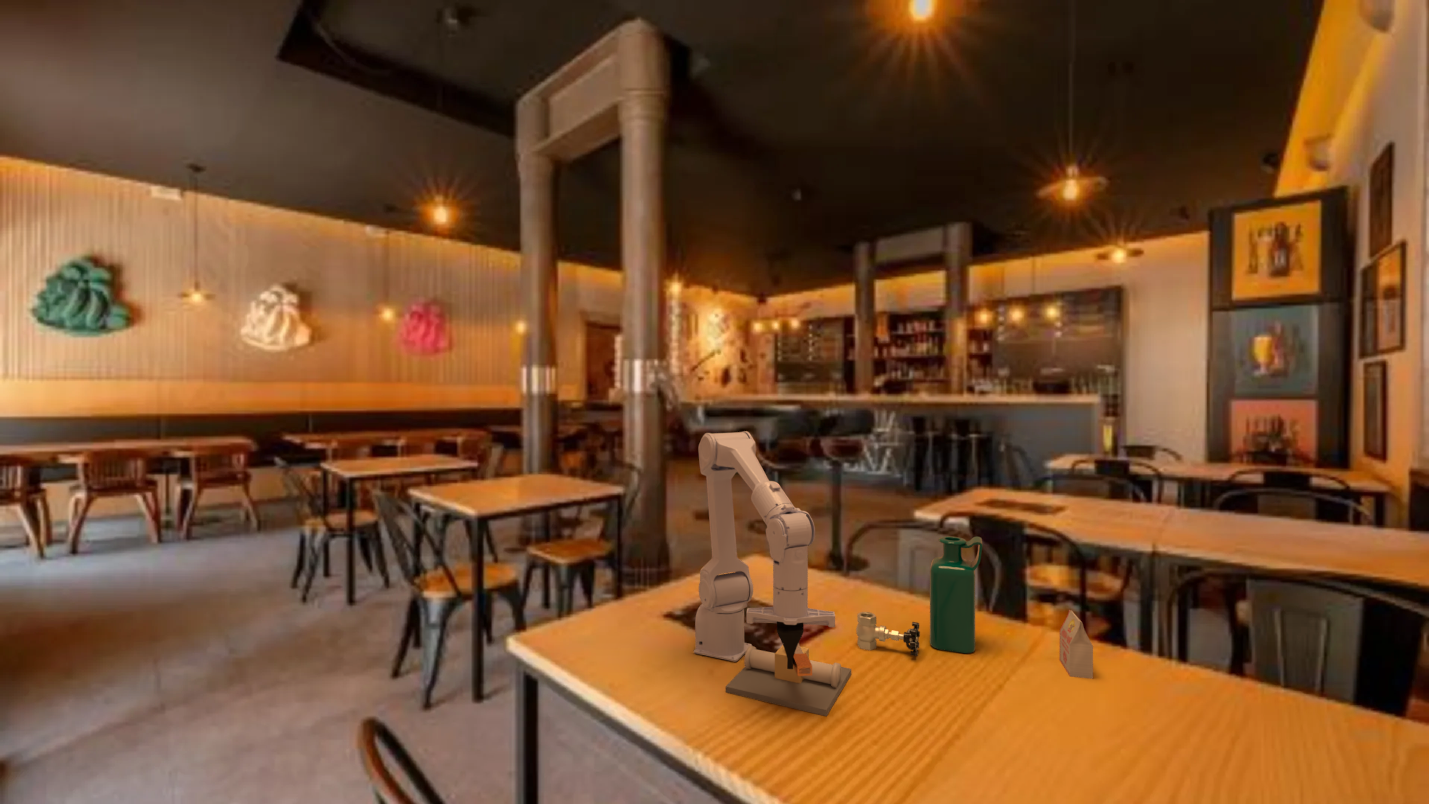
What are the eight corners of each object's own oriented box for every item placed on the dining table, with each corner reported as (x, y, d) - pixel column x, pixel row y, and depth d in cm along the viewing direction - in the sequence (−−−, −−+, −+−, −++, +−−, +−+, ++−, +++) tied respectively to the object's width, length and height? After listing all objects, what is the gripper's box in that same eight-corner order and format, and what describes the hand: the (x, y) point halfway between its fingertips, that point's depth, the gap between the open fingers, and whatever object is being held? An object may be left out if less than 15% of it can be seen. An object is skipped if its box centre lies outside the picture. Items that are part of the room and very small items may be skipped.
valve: (852, 651, 123) (915, 662, 117) (852, 618, 122) (915, 628, 117) (860, 639, 129) (920, 649, 123) (860, 607, 128) (920, 617, 123)
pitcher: (929, 649, 123) (929, 540, 122) (931, 633, 131) (931, 531, 130) (982, 656, 119) (982, 544, 119) (981, 640, 127) (981, 534, 127)
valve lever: (783, 646, 111) (783, 635, 111) (797, 645, 112) (797, 635, 112) (796, 678, 99) (796, 666, 99) (812, 677, 99) (812, 665, 99)
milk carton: (1081, 662, 117) (1081, 610, 116) (1092, 678, 110) (1093, 623, 110) (1059, 660, 118) (1059, 608, 117) (1069, 676, 111) (1070, 621, 111)
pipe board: (725, 692, 106) (725, 661, 106) (760, 655, 121) (760, 628, 121) (826, 716, 98) (826, 683, 98) (851, 674, 113) (851, 645, 112)
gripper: (744, 591, 99) (745, 675, 99) (836, 595, 97) (836, 680, 97) (748, 578, 106) (748, 656, 106) (833, 581, 104) (833, 660, 104)
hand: (790, 666), depth 102 cm, fingers closed, pressing on valve lever
